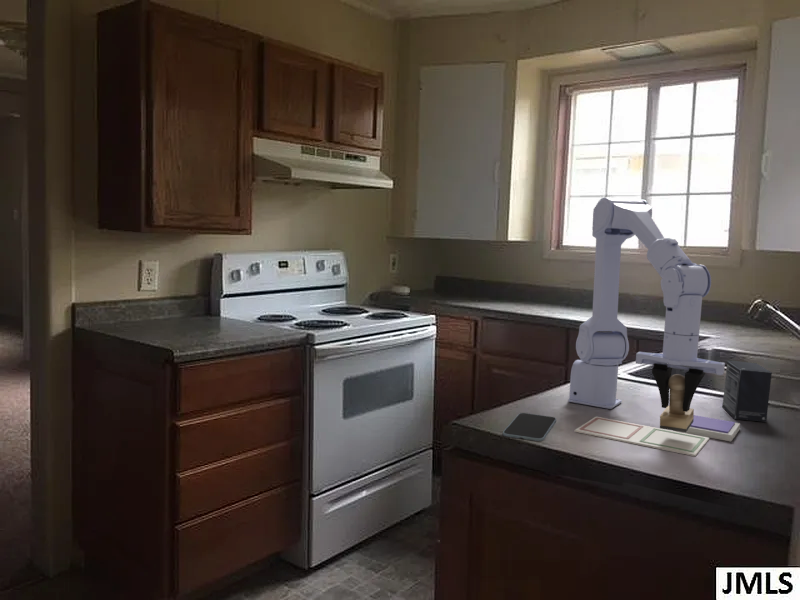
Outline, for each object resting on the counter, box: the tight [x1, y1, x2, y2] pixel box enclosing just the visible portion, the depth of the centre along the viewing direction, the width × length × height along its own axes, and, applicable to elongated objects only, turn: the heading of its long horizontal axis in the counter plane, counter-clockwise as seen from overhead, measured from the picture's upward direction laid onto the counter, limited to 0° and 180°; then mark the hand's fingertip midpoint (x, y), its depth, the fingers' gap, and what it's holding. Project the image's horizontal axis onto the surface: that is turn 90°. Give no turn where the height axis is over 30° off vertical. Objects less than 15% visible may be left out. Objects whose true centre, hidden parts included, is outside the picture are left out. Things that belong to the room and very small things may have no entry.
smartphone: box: [502, 412, 557, 442], centre depth 129 cm, size 7×1×15 cm
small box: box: [721, 360, 773, 423], centre depth 144 cm, size 11×6×10 cm, turn 168°
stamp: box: [659, 373, 695, 433], centre depth 123 cm, size 4×6×9 cm
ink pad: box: [676, 414, 741, 443], centre depth 131 cm, size 10×10×2 cm
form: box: [574, 416, 710, 457], centre depth 127 cm, size 21×12×1 cm, turn 56°
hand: (675, 408), depth 123 cm, fingers closed on stamp, 3 cm apart
